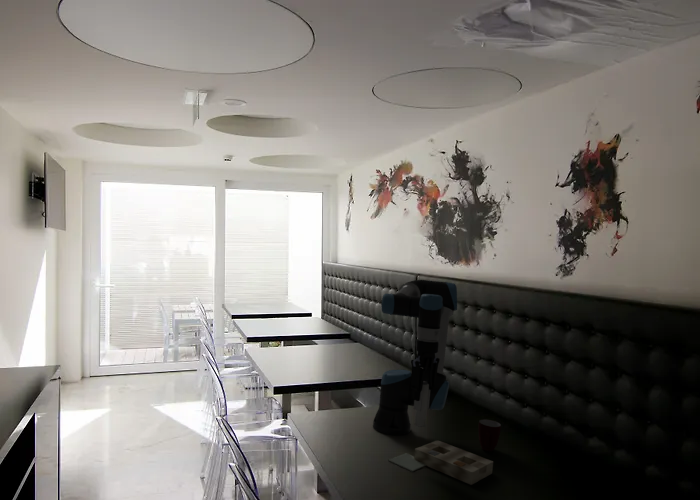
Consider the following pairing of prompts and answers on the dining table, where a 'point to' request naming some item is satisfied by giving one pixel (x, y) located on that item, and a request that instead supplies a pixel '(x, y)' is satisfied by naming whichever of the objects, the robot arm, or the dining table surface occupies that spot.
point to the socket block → (454, 461)
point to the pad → (407, 462)
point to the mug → (489, 434)
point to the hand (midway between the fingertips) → (421, 408)
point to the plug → (421, 415)
